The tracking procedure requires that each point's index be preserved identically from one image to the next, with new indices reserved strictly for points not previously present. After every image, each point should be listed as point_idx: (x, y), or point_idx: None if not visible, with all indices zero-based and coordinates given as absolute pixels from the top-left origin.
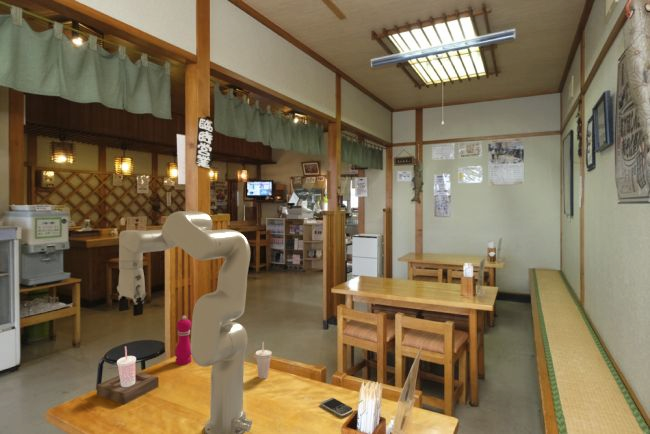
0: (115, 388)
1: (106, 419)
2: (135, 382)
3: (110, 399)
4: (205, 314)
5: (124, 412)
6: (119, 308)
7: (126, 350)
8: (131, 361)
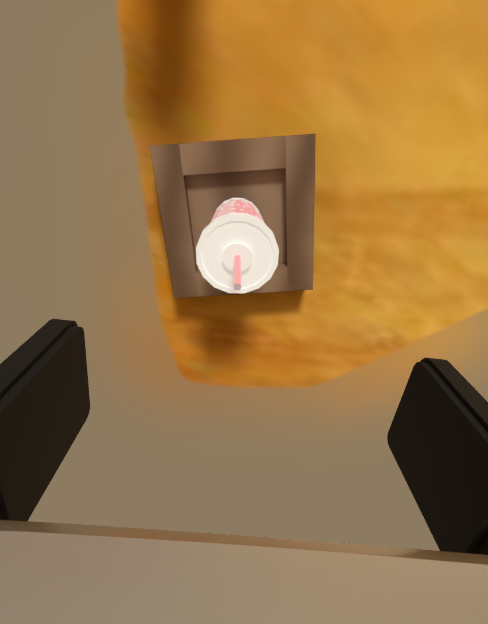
0: None
1: (330, 343)
2: (247, 198)
3: None
4: None
5: (344, 303)
6: (70, 440)
7: (240, 274)
8: (274, 256)
